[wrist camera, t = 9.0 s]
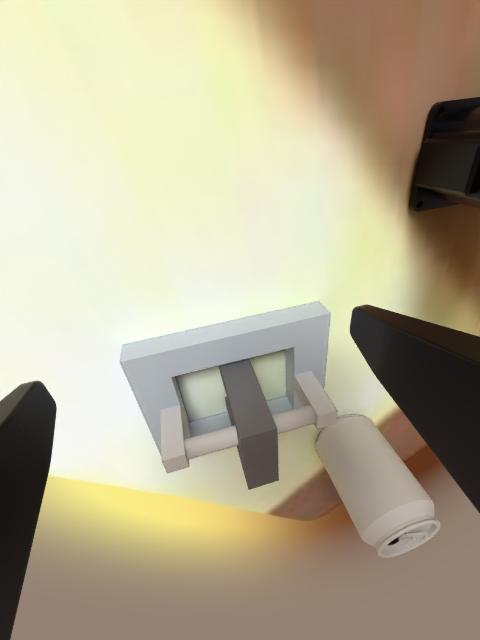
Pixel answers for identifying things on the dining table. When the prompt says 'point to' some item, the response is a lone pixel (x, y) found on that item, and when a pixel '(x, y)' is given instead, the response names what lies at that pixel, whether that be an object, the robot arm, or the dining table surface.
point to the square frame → (221, 348)
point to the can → (376, 486)
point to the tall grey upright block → (251, 423)
